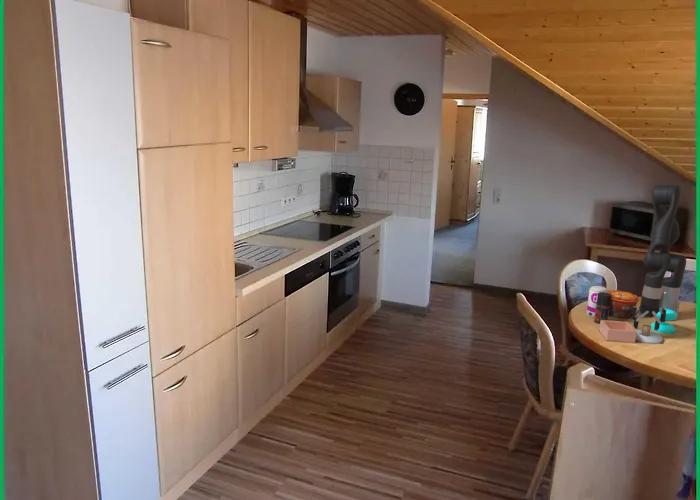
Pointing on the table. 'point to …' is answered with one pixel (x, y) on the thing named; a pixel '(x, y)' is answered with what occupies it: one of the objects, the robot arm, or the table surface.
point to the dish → (617, 331)
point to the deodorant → (602, 307)
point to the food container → (621, 304)
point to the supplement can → (593, 299)
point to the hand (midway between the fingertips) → (645, 329)
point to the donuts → (665, 326)
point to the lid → (648, 335)
